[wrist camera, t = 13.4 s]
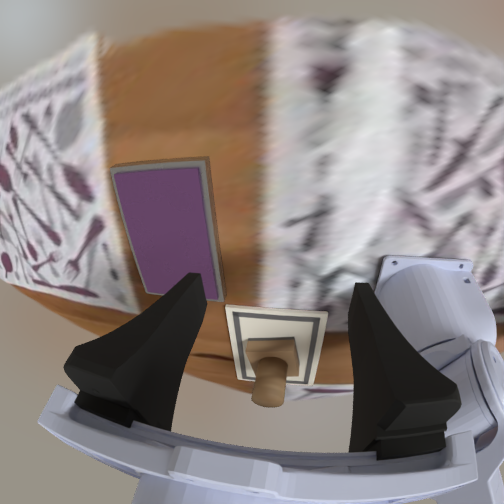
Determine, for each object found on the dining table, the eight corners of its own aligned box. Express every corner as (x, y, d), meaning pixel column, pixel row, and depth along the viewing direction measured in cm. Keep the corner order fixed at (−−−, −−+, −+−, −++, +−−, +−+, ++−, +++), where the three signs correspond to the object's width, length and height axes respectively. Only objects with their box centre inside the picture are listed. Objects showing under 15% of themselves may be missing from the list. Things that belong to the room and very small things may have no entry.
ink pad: (209, 156, 20) (203, 161, 19) (226, 294, 28) (223, 304, 27) (116, 164, 22) (107, 169, 21) (150, 287, 29) (145, 295, 28)
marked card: (328, 311, 27) (328, 315, 26) (312, 383, 35) (312, 386, 34) (226, 304, 28) (224, 307, 28) (238, 376, 36) (237, 379, 36)
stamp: (294, 336, 29) (289, 389, 24) (299, 362, 32) (295, 411, 26) (248, 338, 30) (236, 388, 25) (258, 363, 33) (249, 409, 28)
